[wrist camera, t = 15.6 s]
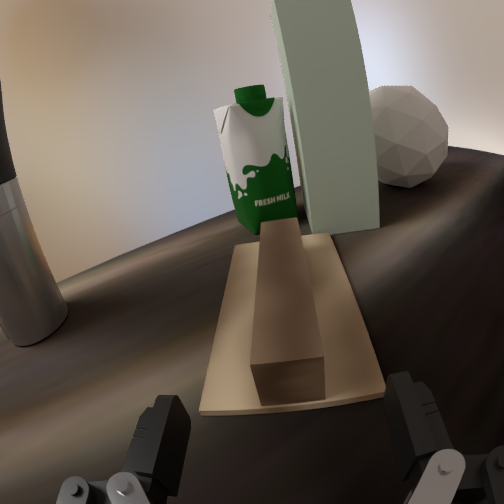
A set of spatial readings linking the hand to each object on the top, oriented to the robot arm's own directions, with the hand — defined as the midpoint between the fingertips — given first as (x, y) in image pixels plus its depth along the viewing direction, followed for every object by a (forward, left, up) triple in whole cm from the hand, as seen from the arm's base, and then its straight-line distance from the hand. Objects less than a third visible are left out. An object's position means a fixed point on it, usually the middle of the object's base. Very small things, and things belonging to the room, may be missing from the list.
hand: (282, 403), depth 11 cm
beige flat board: (0, +17, -7) cm, 19 cm away
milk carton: (-2, +38, -7) cm, 39 cm away
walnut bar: (0, +15, -7) cm, 17 cm away
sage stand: (+9, +36, -7) cm, 38 cm away
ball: (+24, +49, -7) cm, 55 cm away
